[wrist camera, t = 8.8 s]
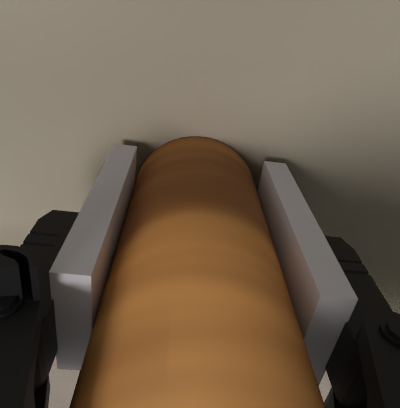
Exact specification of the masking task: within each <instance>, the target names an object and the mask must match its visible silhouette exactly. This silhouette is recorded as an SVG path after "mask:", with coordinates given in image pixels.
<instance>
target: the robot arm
mask: <svg viewBox="0 0 400 408" xmlns="http://www.w3.org/2000/svg"><path fill="white" fill-rule="evenodd" d="M136 157H137V146H131V145H122V144H114V145H113V147H112V149H111V151H110V153H109V155H108V157H107V159H106V161H105V163H104V165H103V167H102V169H101V171H100V173H99V175H98V177H97V179H96V181H95V183H94V184H93V186H92V188H91V190H90V192H89V194H88V196H87V198H86V200H85V202H84V204H83V206H82V208H81V210H80V212H79V213H78V212H68V211H58V210H52V211H51V212H49V213H48V214H46V215H44V216H43V217H41V218H40V219H38V221H37V222H36V224H35V225H34V227H33V228H32V230H31V231H30V234H28V236H27V237H26V238H25V240H24V241H23V244H21V246H20V247H19V246H11V245H0V408H48V403H49V393H50V382H49V372H50V369H51V366H52V364H53V361H54V358H55V356H56V358H57V369H68V370H81V367H82V363H83V360H84V356H85V353H86V350H87V346H88V343H89V339H90V336H91V333H92V329H93V326H94V322H95V319H96V316H97V312H98V309H99V305H100V302H101V299H102V295H103V292H104V288H105V285H106V282H107V278H108V275H109V271H110V268H111V265H112V261H113V258H114V254H115V251H116V248H117V244H118V241H119V237H120V234H121V231H122V227H123V224H124V220H125V217H126V214H127V210H128V207H129V203H130V200H131V197H132V193H133V190H134V186H135V177H136ZM257 194H258V197H259V200H260V203H261V206H262V209H263V213H264V216H265V219H266V222H267V225H268V228H269V232H270V235H271V238H272V241H273V244H274V247H275V251H276V254H277V257H278V260H279V263H280V266H281V270H282V273H283V276H284V279H285V282H286V285H287V289H288V292H289V295H290V298H291V301H292V304H293V308H294V311H295V314H296V317H297V320H298V323H299V327H300V330H301V333H302V336H303V339H304V342H305V346H306V349H307V352H308V355H309V358H310V361H311V364H312V368H313V371H314V374H315V377H316V380H317V383H318V386H319V384H320V382H321V379H322V377H323V375H324V373H325V371H327V374H328V377H329V380H330V383H331V385H332V388H331V390H330V392H329V394H328V396H327V398H326V400H325V402H324V406H325V408H400V314H398V313H395V312H393V311H392V310H391V308H390V306H389V305H388V303H387V302H386V300H385V298H384V297H383V295H382V293H381V292H380V290H379V289H378V287H377V285H376V284H375V282H374V281H373V279H372V277H371V276H370V275H368V271H367V269H366V268H365V266H364V264H362V261H361V260H360V258H359V256H358V255H357V253H356V252H355V250H354V249H353V248H352V247H351V246H350V245H348V244H347V243H346V242H345V241H344V240H343V239H341V238H339V237H329V236H324V234H323V232H322V231H321V229H320V227H319V225H318V223H317V221H316V219H315V217H314V216H313V214H312V212H311V210H310V208H309V206H308V204H307V202H306V201H305V199H304V197H303V195H302V193H301V191H300V189H299V187H298V186H297V184H296V182H295V180H294V178H293V176H292V174H291V172H290V171H289V169H288V167H287V165H286V163H278V162H269V161H264V164H263V169H262V173H261V177H260V182H259V186H258V190H257Z"/></svg>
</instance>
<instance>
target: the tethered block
mask: <svg viewBox="0 0 400 408" xmlns="http://www.w3.org/2000/svg"><path fill="white" fill-rule="evenodd" d="M69 408H325V406H324V402H323V399H322V396H321V393H320V390H319V387H318V383H317V380H316V377H315V374H314V371H313V368H312V364H311V361H310V358H309V355H308V352H307V349H306V346H305V342H304V339H303V336H302V333H301V330H300V327H299V323H298V320H297V317H296V314H295V311H294V308H293V304H292V301H291V298H290V295H289V292H288V289H287V285H286V282H285V279H284V276H283V273H282V270H281V266H280V263H279V260H278V257H277V254H276V251H275V247H274V244H273V241H272V238H271V235H270V232H269V228H268V225H267V222H266V219H265V216H264V213H263V209H262V206H261V203H260V200H259V197H258V194H257V191H256V187H255V184H254V181H253V178H252V175H251V172H250V169H249V168H248V166H247V164H246V162H245V161H244V160H243V158H242V157H241V156H240V155H239V154H238V153H237V152H236V151H235V150H233V149H232V148H231V147H229V146H227V145H226V144H224V143H222V142H219V141H217V140H214V139H210V138H204V137H185V138H180V139H176V140H173V141H170V142H168V143H166V144H164V145H162V146H160V147H159V148H158V149H156V150H155V151H154V152H153V153H152V154H151V155H150V156H149V157H148V158H147V159H146V160H145V162H144V163H143V165H142V167H141V169H140V171H139V174H138V176H137V180H136V183H135V186H134V190H133V193H132V197H131V200H130V203H129V207H128V210H127V214H126V217H125V220H124V224H123V227H122V231H121V234H120V237H119V241H118V244H117V248H116V251H115V254H114V258H113V261H112V265H111V268H110V271H109V275H108V278H107V282H106V285H105V288H104V292H103V295H102V299H101V302H100V305H99V309H98V312H97V316H96V319H95V322H94V326H93V329H92V333H91V336H90V339H89V343H88V346H87V350H86V353H85V356H84V360H83V363H82V367H81V370H80V373H79V377H78V380H77V384H76V387H75V390H74V394H73V397H72V401H71V404H70V407H69Z"/></svg>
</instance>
